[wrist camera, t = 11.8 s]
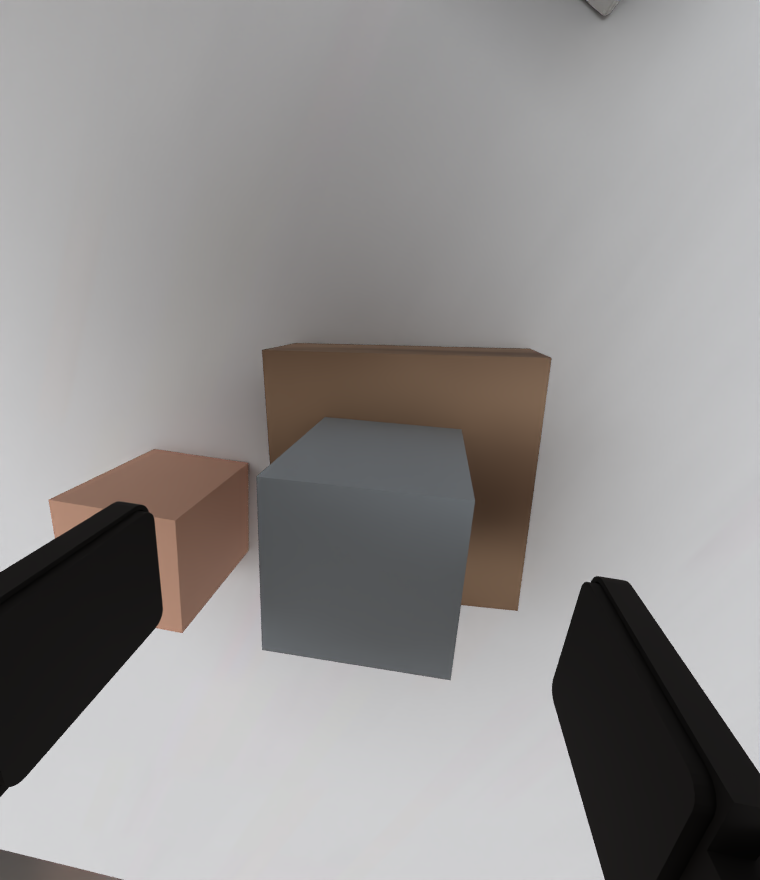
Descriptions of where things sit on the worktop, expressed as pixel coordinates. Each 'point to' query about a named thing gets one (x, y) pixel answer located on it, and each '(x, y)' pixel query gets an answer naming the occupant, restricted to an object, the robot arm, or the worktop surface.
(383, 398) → the walnut base
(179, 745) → the worktop surface
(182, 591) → the terracotta block
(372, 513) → the grey block
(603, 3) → the supplement box
